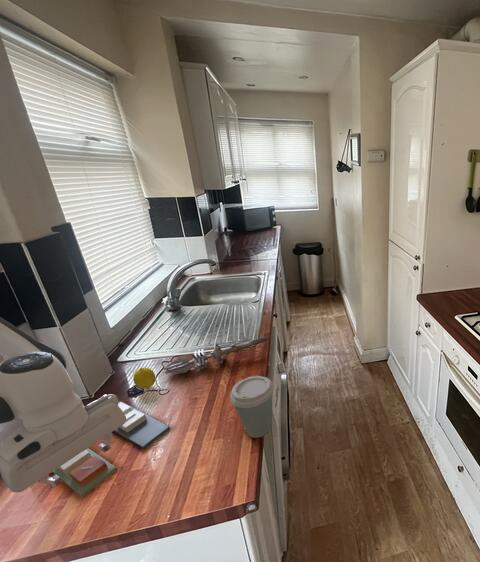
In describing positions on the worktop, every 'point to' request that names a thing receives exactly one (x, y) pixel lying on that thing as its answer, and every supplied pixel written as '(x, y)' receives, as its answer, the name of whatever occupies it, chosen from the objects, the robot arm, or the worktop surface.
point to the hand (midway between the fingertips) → (83, 465)
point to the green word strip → (92, 483)
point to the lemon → (144, 378)
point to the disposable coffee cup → (254, 404)
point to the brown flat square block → (88, 470)
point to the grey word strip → (140, 427)
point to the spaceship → (184, 364)
